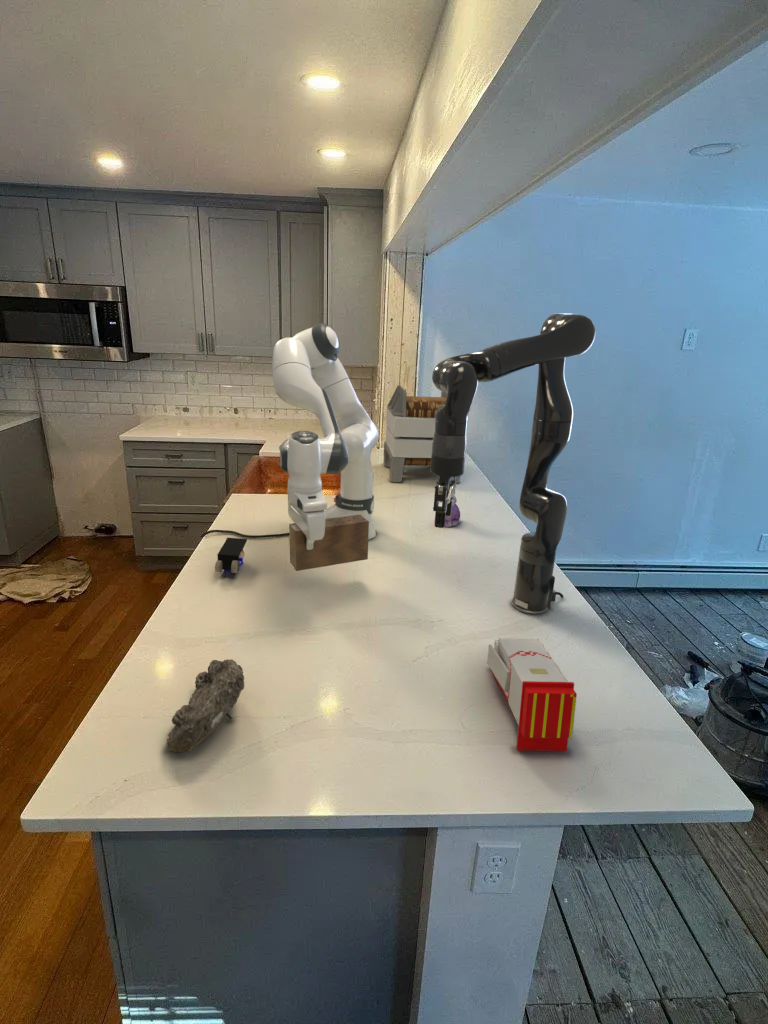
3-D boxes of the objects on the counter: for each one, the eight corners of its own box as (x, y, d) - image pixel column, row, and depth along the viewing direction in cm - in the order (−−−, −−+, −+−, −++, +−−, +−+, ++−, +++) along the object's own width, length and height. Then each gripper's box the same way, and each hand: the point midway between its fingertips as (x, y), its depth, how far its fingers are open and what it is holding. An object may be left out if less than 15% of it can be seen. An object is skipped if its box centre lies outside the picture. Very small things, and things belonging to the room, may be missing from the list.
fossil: (192, 660, 117) (244, 628, 112) (224, 691, 120) (276, 661, 115) (142, 746, 98) (202, 712, 93) (182, 779, 101) (242, 748, 96)
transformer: (382, 463, 289) (386, 382, 275) (445, 464, 293) (451, 384, 279) (390, 482, 257) (394, 392, 243) (460, 483, 261) (468, 394, 247)
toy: (536, 621, 128) (586, 689, 98) (531, 676, 131) (578, 758, 101) (482, 620, 127) (517, 688, 98) (478, 675, 130) (511, 757, 101)
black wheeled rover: (238, 584, 162) (249, 557, 175) (236, 562, 158) (247, 536, 172) (215, 584, 161) (227, 556, 175) (212, 561, 158) (225, 535, 171)
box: (296, 571, 150) (295, 531, 146) (289, 562, 155) (288, 523, 151) (367, 559, 159) (369, 521, 155) (359, 551, 164) (360, 514, 160)
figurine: (445, 529, 206) (449, 489, 200) (430, 519, 214) (433, 481, 209) (467, 525, 210) (470, 487, 205) (451, 516, 218) (454, 479, 213)
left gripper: (281, 484, 155) (282, 531, 160) (305, 508, 138) (305, 560, 142) (303, 482, 157) (304, 528, 162) (329, 505, 140) (329, 556, 145)
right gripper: (460, 462, 119) (453, 534, 124) (469, 447, 132) (463, 513, 137) (425, 458, 120) (420, 529, 126) (438, 444, 133) (433, 509, 139)
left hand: (305, 543), depth 152 cm, fingers closed on box, 6 cm apart
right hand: (442, 520), depth 131 cm, fingers open, 8 cm apart
